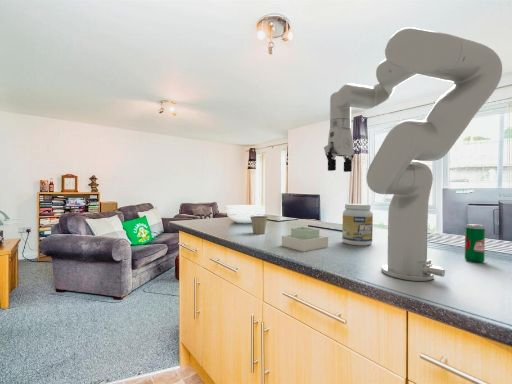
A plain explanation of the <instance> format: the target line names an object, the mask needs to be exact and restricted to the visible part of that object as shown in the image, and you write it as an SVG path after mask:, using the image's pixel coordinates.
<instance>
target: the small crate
mask: <svg viewBox="0 0 512 384" xmlns="http://www.w3.org/2000/svg"><path fill="white" fill-rule="evenodd" d="M290 235H291V237H292V238H296V239H301V240H307V239H314V238H319V235H320V228H313V227H308V226H298V227H290Z"/></svg>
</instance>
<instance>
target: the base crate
mask: <svg viewBox="0 0 512 384" xmlns="http://www.w3.org/2000/svg"><path fill="white" fill-rule="evenodd" d="M281 246H282V247H284V248H289V249H293V250H297V251H300V252H309V251H314V250H318V249H323V248H328V247H329V236H327V235H322V234H319V238H314V239H307V240H301V239H296V238H292V237H291V234H286V235H281Z"/></svg>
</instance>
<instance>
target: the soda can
mask: <svg viewBox="0 0 512 384" xmlns="http://www.w3.org/2000/svg"><path fill="white" fill-rule="evenodd" d="M485 253H486V228H485V227H484V225H483V224H476V223H466V226H465V228H464V259H465V261H466V262H470V263H476V264H483V263H484V262H485V261H486V260H485V259H486V258H485V255H486V254H485Z"/></svg>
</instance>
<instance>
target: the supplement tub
mask: <svg viewBox="0 0 512 384" xmlns="http://www.w3.org/2000/svg"><path fill="white" fill-rule="evenodd" d="M344 208H345V209H344V210H343V211H342V241H343V243H345V244H347V245H349V246H350V245H351V246H358V247H359V246H370V245H371V244H372V242H373V224H374V223H373V222H374V221H373V217H374V216H373V215H374V214H373V211H371V204H369V203H368V204H367V203H345V205H344Z"/></svg>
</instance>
